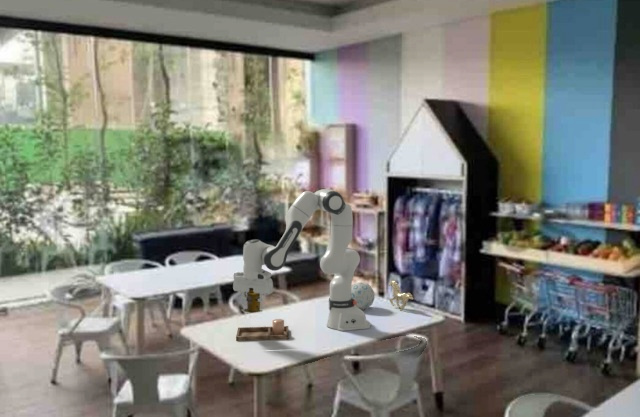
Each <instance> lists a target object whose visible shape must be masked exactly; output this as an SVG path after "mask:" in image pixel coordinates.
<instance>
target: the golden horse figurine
mask: <svg viewBox="0 0 640 417" xmlns="http://www.w3.org/2000/svg"><path fill="white" fill-rule="evenodd" d="M389 278H390V282H389V283H388V286H389V287H390V286H391V287H392V296H393V297H391V298H390V299H389V302H390V304H391V305H392V306H393V307H395V306H397V307H398V308H399V311H403V310H404V308H405V307H406V306H407V305H408V301H409V300H414V297H413V295H412V294H411V293H410V292H407V293H406V292H401V287H400V285H399V284H398V283H399V282H396V281H395V279H392V277H389ZM393 301H396V304H395V303H394V302H393ZM399 301H401V303H402V305H400V303H399Z"/></svg>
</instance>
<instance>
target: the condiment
mask: <svg viewBox="0 0 640 417" xmlns="http://www.w3.org/2000/svg"><path fill="white" fill-rule="evenodd" d="M253 290H254V289H253V288H249V292H246V296H247V304H246V305H247V308H244V309H243V308H242V309H241V311H242V312H243V313H245V314H248V315H249V314H254V313H261V312H263V310H262V309H261V302H258V298H260V293H254V291H253Z"/></svg>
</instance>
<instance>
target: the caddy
mask: <svg viewBox="0 0 640 417" xmlns="http://www.w3.org/2000/svg"><path fill="white" fill-rule="evenodd" d="M289 330H290V329H289V325H284V335H273V326H251V327H250V326H249V327H248V326H247V327H244V326H243V327H237V330H236V331H237V332H236V336H235V341H237V342H242V341H247V342H248V341H272V340H274V341H277V340H278V341H279V340H281V341H282V340H289V339H290V332H289Z"/></svg>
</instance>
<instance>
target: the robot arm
mask: <svg viewBox="0 0 640 417" xmlns="http://www.w3.org/2000/svg"><path fill="white" fill-rule="evenodd" d="M287 210H288V211H287V212H286V214H285V216H284V219H285V225H286V226H285V231H284V233H283V235H282V237H281V238H280V239H279V241H278V243H277V244H276V246H275V245H272V244H267V243H265V242H263V241H261V240H260V239H250V240H247V241H246V242H245V243H244V244H243V250H242V252H243V253H242V255H243V256H242V259H243V267H242V268H243V270H242V271H243V272H242V271H236V272H234V274H233V282H232V283H233V284H232V288H233V291H234V292H241V294H242V297H243V300H244V302H246V301H247V292H249V288H253V289H254V290H253V291H254V293H260V298H258V302H260V303H262V302H263V297H264V296H265V295H271V294H273V292H274V282H273V279H272V278H271V277H272V272H270V271H274V272H275V271H279V270H281V269H283V268H284V266H285V265H286V261H287V257H288V254H289V253H290V251H291V249H292V247H293V245H294V244H295V242H296V240H297V239H298V238H299V235H300V234H301V232H302V230H303V229H304V227H305V226H306V225H307V223H308V222H309V220H310V219H311V218H312V216H313V214H314V213H315V212H316V211H318V210H321V211H323V212H327V213H330V217H331V218H330V232H329V233H330V235H329V236H330V237H329V241H328V245H327V248H326V251H325V253H324V254H323V256H322V257H321V259H320V260H319V261H320V262H319V267H320V269H321V271H322V272H323V273H324V274H325V275H333V277H332V279H331V280H330V282H329V298H328V310H329V312H328V319H327V323H326V327H328V328H330V329H332V330H338V331H340V332H345V331H346V332H347V331H355V330H356V331H357V330H367V329H370V328H371V322H370V321H369V320H368V319H367V316H366V314H365V311H363V309H359V308H358V307H356V306H355V305H356V304H357V302H356V301H355V300H354V299H353V298H351V287H352V283H353V278H354V274H355V271H356V269H357V267H358V266H359V264H360V262H361V257H360V254H359V252H358V251H357V250H355V249H352V248H351V249H349V248H348V247H349V245H350V243H351V242H352V240H353V228H354V227H353V226H354V225H353V224H354V219H353V216H354V215H353V209H352V206H351V205H350V203H348V202H345V200H344V197H343V196H342V195H341V193H340V192H338V191H337V190H336V191H335V190H334V189H330V188H318V189H316V190H314V191H310V190H304V191H303V192H302V193H301V194H299V196H297V198H296V199H295V200H294V202H293V203H292V204H291V205H290V207H289V208H288V209H287ZM262 266H265V267H266V268H267V269H268V270H270V271H267V270H265V269H264V268H263V267H262Z"/></svg>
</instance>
